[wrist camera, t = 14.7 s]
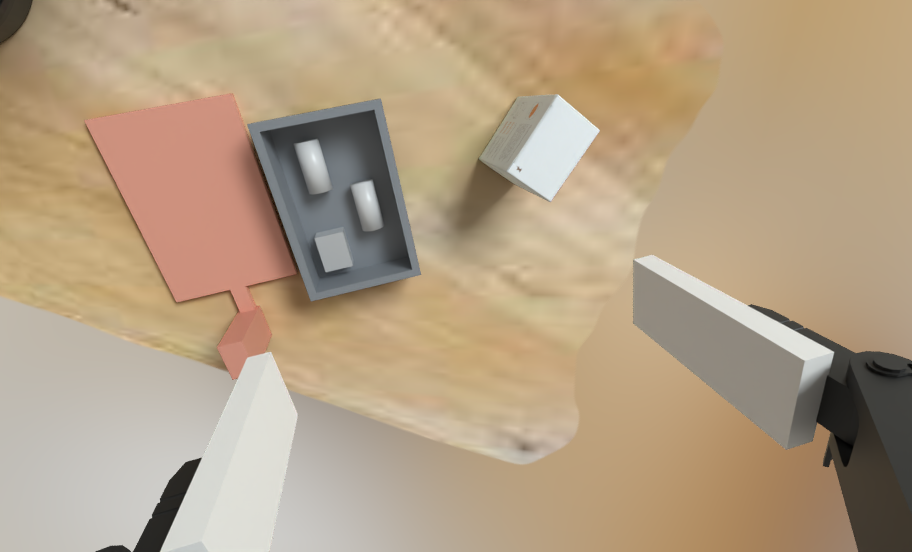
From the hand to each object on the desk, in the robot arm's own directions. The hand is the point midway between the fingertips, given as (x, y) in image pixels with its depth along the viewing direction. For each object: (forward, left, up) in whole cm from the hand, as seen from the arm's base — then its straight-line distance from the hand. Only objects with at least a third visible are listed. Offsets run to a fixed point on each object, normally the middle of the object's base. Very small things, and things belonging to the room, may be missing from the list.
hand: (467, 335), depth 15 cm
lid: (+2, -20, -35) cm, 40 cm away
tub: (+1, -6, -35) cm, 35 cm away
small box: (-1, +14, -35) cm, 38 cm away
